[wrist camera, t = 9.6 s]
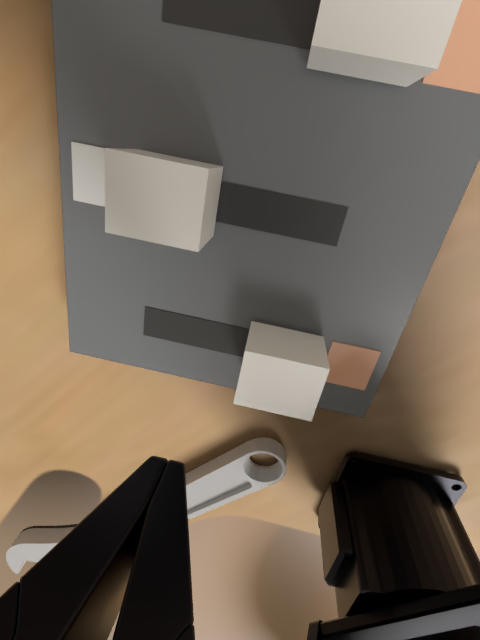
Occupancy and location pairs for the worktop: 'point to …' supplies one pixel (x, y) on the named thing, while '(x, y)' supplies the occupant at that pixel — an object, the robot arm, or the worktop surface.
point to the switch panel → (257, 185)
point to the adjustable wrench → (201, 488)
